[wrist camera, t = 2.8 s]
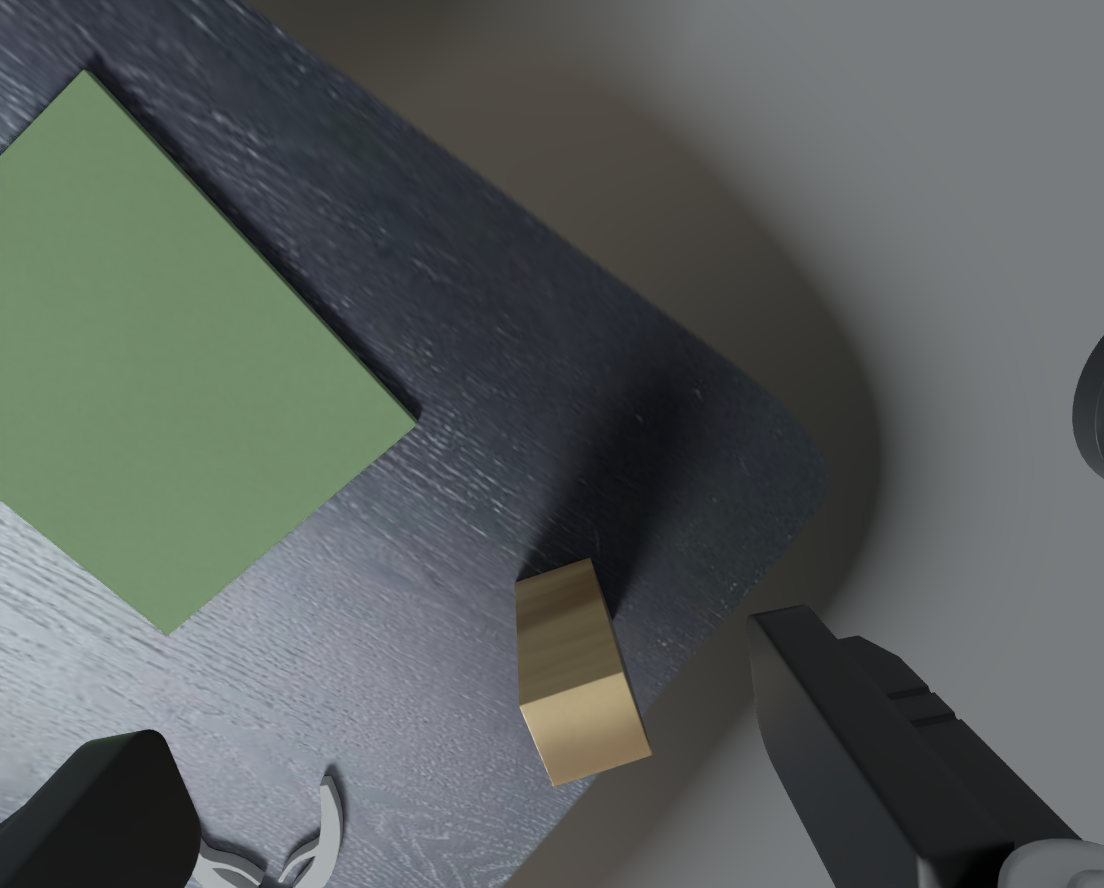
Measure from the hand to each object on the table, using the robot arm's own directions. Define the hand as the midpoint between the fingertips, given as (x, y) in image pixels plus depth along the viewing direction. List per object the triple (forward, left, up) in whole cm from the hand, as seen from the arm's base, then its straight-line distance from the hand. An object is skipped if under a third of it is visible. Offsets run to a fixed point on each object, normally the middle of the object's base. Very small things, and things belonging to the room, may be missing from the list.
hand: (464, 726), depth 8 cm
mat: (+13, -11, -24) cm, 29 cm away
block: (+5, +12, -24) cm, 27 cm away
